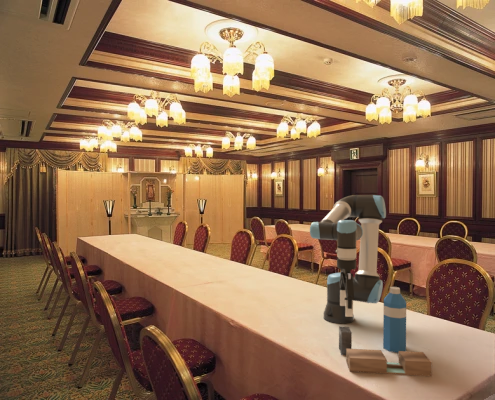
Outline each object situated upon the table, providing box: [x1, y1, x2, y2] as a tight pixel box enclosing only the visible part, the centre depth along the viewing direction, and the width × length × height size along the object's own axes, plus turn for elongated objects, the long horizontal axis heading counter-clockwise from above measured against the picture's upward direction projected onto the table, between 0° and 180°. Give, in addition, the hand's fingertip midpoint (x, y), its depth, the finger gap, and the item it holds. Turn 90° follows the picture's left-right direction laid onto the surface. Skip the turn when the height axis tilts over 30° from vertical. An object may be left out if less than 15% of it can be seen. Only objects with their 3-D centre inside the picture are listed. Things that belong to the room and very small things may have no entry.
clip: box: [338, 325, 353, 356], centre depth 147 cm, size 6×4×9 cm, turn 174°
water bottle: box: [382, 286, 407, 354], centre depth 150 cm, size 9×9×25 cm
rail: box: [345, 348, 433, 377], centre depth 132 cm, size 8×28×5 cm, turn 84°
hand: (346, 310), depth 146 cm, fingers open, 13 cm apart
